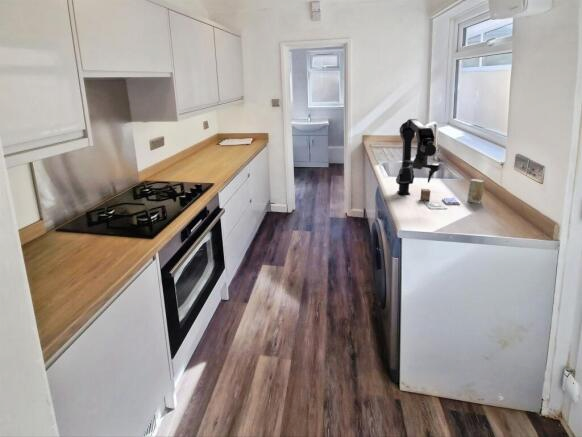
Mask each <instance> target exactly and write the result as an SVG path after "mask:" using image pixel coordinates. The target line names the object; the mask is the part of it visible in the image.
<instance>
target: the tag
mask: <svg viewBox="0 0 582 437" xmlns="http://www.w3.org/2000/svg"><path fill="white" fill-rule="evenodd" d="M423 203H424V205H426V207H427V208H428V209H429V210H448V207H446V205H444V204H443V202H441V201H423Z"/></svg>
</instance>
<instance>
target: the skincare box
mask: <svg viewBox="0 0 582 437" xmlns="http://www.w3.org/2000/svg"><path fill="white" fill-rule="evenodd" d="M484 187H485V180H483V179H477V178H472V179H470V182H469V187H468V194H467V202H470V203H474V204H480V203H482V198H483V192H484V189H485V188H484ZM479 202H480V203H479Z"/></svg>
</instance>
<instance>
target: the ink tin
mask: <svg viewBox="0 0 582 437" xmlns="http://www.w3.org/2000/svg"><path fill="white" fill-rule="evenodd" d="M441 201H442V203H444V204H445V206H446V205H447V206H451V205H452V206H457V205H458V206H459V205H461V202H460V201H459V200H458V199H456V198H455V197H442V198H441Z"/></svg>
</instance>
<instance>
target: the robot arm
mask: <svg viewBox="0 0 582 437" xmlns="http://www.w3.org/2000/svg"><path fill="white" fill-rule="evenodd" d="M399 136H400V139H401V140H402V156H401V157H402V160H401V161H402V162H401V167H400V169H399V171H398V174H397V176H396V179H395V182H396V184H397V185H398V190H397V191H396V192H397V194H398V195H406V196H407V195H409V196H410V195H411V193H410V184H411V185H413V183H414V179H415V175H414V173H415V172H414V170H415V169H417V170H422V169H423V168H425V169H426V168H427V169H429V170H428V176H427V177H428V178H427V183H430V181H431V179H432V177H433V175H434V173H436V172H438V171H440V170H441V168H442V165H441V163H436V162H433V163H431V164H429V162H428V161H429V160H428V159H429V158H428V157H432V156H434V155H435V154H436V152H437V147H436V146H435V145H434V142H435V135H434V130H433V129H432V127H430V126H427V125H423V124H422V123H421V122H420V121H419V120H418V118H408V119H407V120H406V121H405V122H404V123H402V124H401V126H400V127H399ZM415 137H416V139H417V140H416V141H417V142H416V143H417V144H416V154H415V157H414V159H413V160H412V141H413V139H414V138H415Z"/></svg>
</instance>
